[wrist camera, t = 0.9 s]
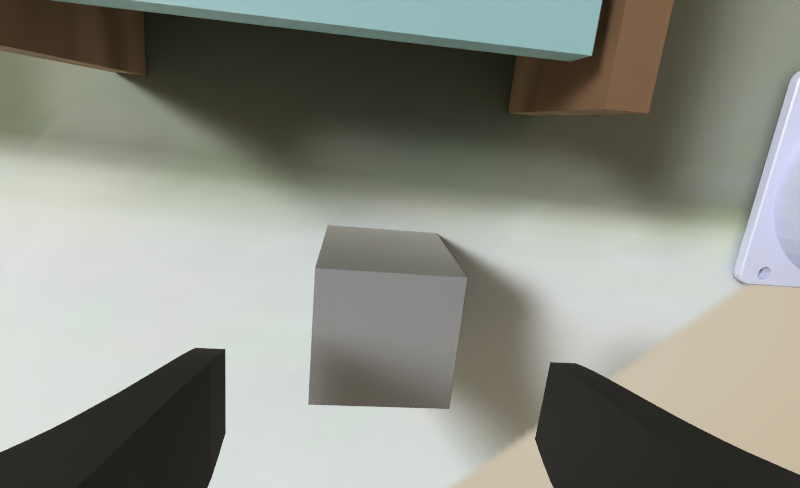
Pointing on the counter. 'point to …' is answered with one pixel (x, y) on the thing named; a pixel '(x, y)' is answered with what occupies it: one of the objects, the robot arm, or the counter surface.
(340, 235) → the slate block
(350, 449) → the counter surface
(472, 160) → the counter surface
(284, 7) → the trapdoor flap
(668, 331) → the counter surface
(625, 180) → the counter surface
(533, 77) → the stand
